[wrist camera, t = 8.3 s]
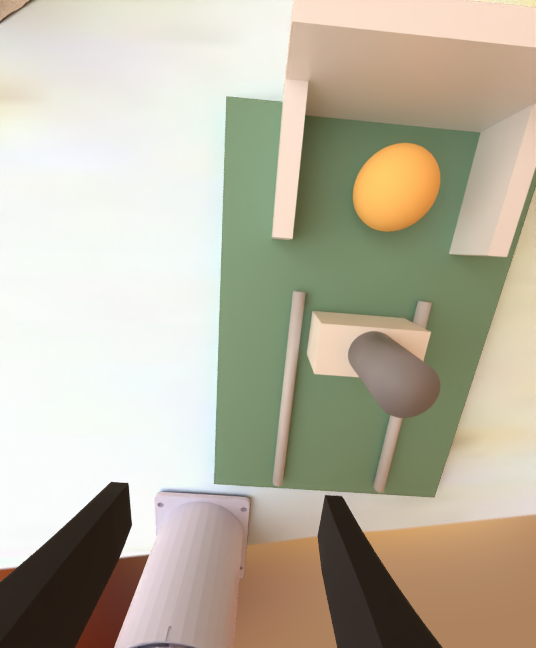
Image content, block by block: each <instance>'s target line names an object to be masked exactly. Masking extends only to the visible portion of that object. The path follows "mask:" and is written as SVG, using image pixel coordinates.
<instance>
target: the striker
mask: <svg viewBox="0 0 536 648" xmlns="http://www.w3.org/2000/svg"><path fill="white" fill-rule="evenodd" d="M430 334H431V332H430V331H428V330H426V329H424V328H422V327H420V326H418V325H416V324H414V323H413V322H411V321H409V320H407V319H405V318H398V317H385V316H372V315H360V314H347V313H334V312H321V311H312V317H311V325H310V333H309V340H308V348H307V356H308V359H309V361H310V364H311V366H312V369H313V372H314V374H320V375H334V376H348V377H359V378H360V379H361V380H362V382H363V383H364V385H365V386H366V387H367V389H368V390H369V391H370V393H371V394H372V396H373V397H374V398H375V400H376V401H377V403H378V404H379V405H380V407H381V408H382V409H383V410H384V411H385V412H386V413H387V414H389V415H391V416H394V417H397V418H410V417H414V416H418V415H420V414H422V413H424V412H425V411H427V410H428V409H429V408H430V407H431V406H432V405H433V404H434V403H435V401H436V400H437V398H438V395H439V393H440V379H439V376H438V374H437V373H436V371H435V370H434V369H433V368H431V367H430V366H429V365H427V364H426V363H425V362H423V361H424V357H425V353H426V349H427V345H428V342H429V338H430Z"/></svg>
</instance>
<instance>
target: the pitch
mask: <svg viewBox="0 0 536 648" xmlns="http://www.w3.org/2000/svg"><path fill="white" fill-rule="evenodd" d="M282 104H283V102H278V101H268V100H258V99H248V98H238V97H227V96H226V127H225V159H224V190H223V221H222V253H221V284H220V316H219V347H218V379H217V410H216V441H215V473H214V484H223V485H239V486H256V487H272V488H289V489H305V490H322V491H338V492H354V493H371V494H387V495H404V496H420V497H435V494H436V491H437V488H438V485H439V482H440V479H441V476H442V473H443V469H444V466H445V463H446V460H447V457H448V454H449V451H450V448H451V445H452V442H453V439H454V436H455V433H456V430H457V426H458V423H459V420H460V417H461V414H462V411H463V408H464V405H465V402H466V399H467V396H468V393H469V390H470V387H471V383H472V380H473V377H474V374H475V371H476V368H477V365H478V362H479V359H480V356H481V353H482V350H483V347H484V344H485V340H486V337H487V334H488V331H489V328H490V325H491V322H492V319H493V316H494V313H495V310H496V307H497V304H498V301H499V297H500V294H501V291H502V288H503V285H504V282H505V279H506V276H507V273H508V270H509V267H510V264H511V261H512V258H513V254H514V251H515V248H516V245H517V242H518V239H519V236H520V233H521V230H522V227H523V224H524V221H525V218H526V215H527V211H528V208H529V205H530V202H531V199H532V196H533V193H534V190H535V187H536V168H535V171H534V174H533V177H532V180H531V184H530V187H529V190H528V193H527V196H526V199H525V202H524V205H523V209H522V212H521V215H520V218H519V221H518V224H517V227H516V230H515V234H514V237H513V240H512V243H511V246H510V249H509V252H508V255H507V257H492V256H465V255H453V254H449V252H450V248H451V244H452V240H453V236H454V233H455V229H456V225H457V221H458V217H459V213H460V210H461V206H462V202H463V198H464V194H465V190H466V187H467V183H468V179H469V175H470V171H471V167H472V164H473V160H474V156H475V152H476V148H477V144H478V141H479V137H480V133H481V132H471V131H460V130H450V129H440V128H430V127H420V126H409V125H399V124H389V123H379V122H369V121H358V120H348V119H338V118H328V117H318V116H307V115H305V121H304V131H303V141H302V150H301V160H300V170H299V180H298V190H297V200H296V209H295V219H294V229H293V239H290V240H278V239H272V227H273V215H274V203H275V190H276V178H277V166H278V153H279V141H280V128H281V116H282ZM398 143H412V144H416V145H419V146H422V147H423V148H425V149H427V150H428V151H429V152H430V153H431V154H432V155H433V157H434V158H435V160H436V162H437V163H438V166H439V170H440V188H439V191H438V195H437V197H436V200H435V201H434V203H433V205H432V206H431V208H430V209H429V211H428V212H427V213H426V214H425V215H424V216H423V217H422V218H421V219H420V220H418V221H417V222H416V223H414V224H413V225H411V226H409V227H407V228H404V229H401V230H398V231H390V232H385V231H379V230H375V229H373V228H371V227H369V226H367V225H366V224H365V223H364V222H363V221H362V220H361V219H360V218H359V216H358V215H357V213H356V210H355V208H354V204H353V188H354V184H355V180H356V178H357V175H358V173H359V171H360V170H361V168H362V167H363V165H364V164H365V163H366V162H367V160H369V159H370V158H371V157H372V156H373V155H374V154H375V153H377V152H378V151H380V150H381V149H383V148H385V147H388V146H390V145H394V144H398ZM312 311H321V312H334V313H347V314H360V315H372V316H385V317H398V318H405V319H407V320H409V321H411V322H413V323H414V324H416V325H418V326H420V327H422V328H424V329H426V330H428V331H430V332H431V334H430V338H429V342H428V345H427V349H426V353H425V357H424V361H423V362H425V363H426V364H427V365H429V366H430V367H431V368H433V369H434V370H435V371H436V373H437V374H438V376H439V379H440V393H439V395H438V398H437V400H436V401H435V403H434V404H433V405H432V406H431V407H430V408H429V409H428V410H427V411H425V412H424V413H422V414H420V415H418V416H414V417H410V418H397V417H394V416H391V415H389V414H387V413H386V412H385V411H384V410H383V409H382V408H381V407H380V405H379V404H378V403H377V401H376V400H375V398H374V397H373V396H372V394H371V393H370V391H369V390H368V389H367V387H366V386H365V385H364V383H363V382H362V380H361V379H360V378H359V377H348V376H334V375H320V374H314V372H313V369H312V366H311V364H310V361H309V359H308V356H307V348H308V340H309V333H310V325H311V317H312Z"/></svg>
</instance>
